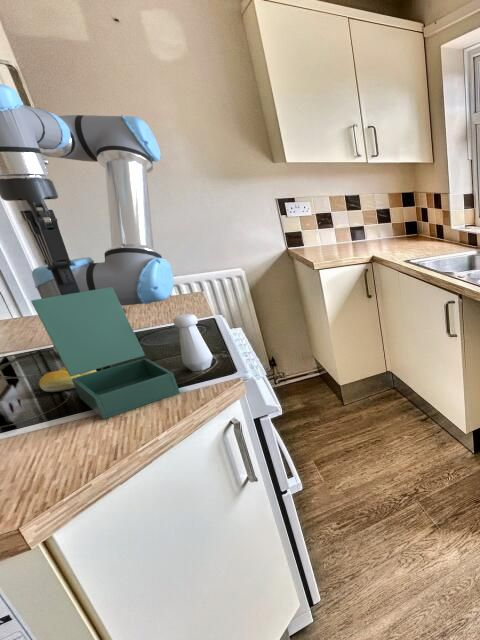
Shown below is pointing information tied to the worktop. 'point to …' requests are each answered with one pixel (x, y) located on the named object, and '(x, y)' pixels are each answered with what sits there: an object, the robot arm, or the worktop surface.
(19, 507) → the worktop surface
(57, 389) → the yellow rounded piece
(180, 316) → the salt shaker
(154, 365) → the box
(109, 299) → the box lid
